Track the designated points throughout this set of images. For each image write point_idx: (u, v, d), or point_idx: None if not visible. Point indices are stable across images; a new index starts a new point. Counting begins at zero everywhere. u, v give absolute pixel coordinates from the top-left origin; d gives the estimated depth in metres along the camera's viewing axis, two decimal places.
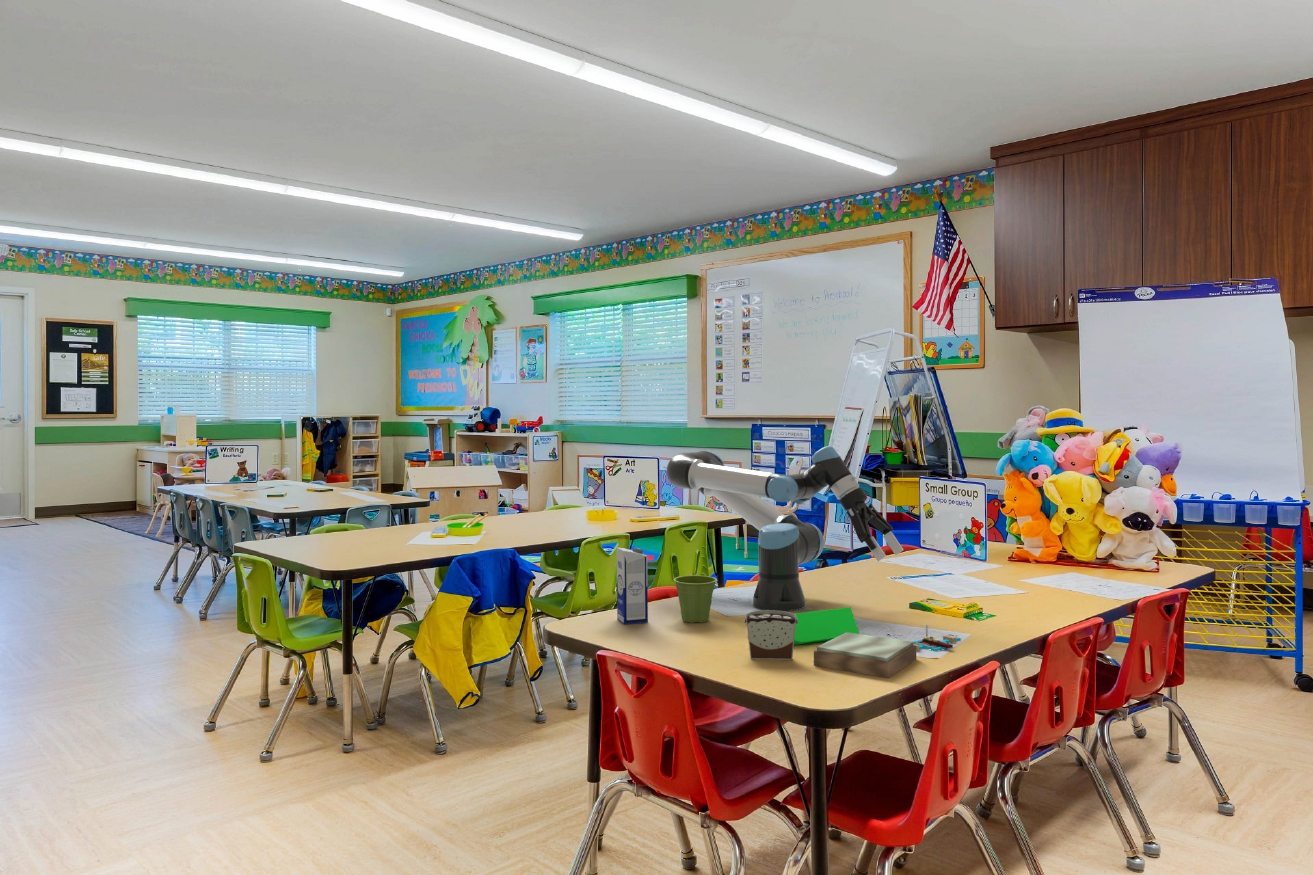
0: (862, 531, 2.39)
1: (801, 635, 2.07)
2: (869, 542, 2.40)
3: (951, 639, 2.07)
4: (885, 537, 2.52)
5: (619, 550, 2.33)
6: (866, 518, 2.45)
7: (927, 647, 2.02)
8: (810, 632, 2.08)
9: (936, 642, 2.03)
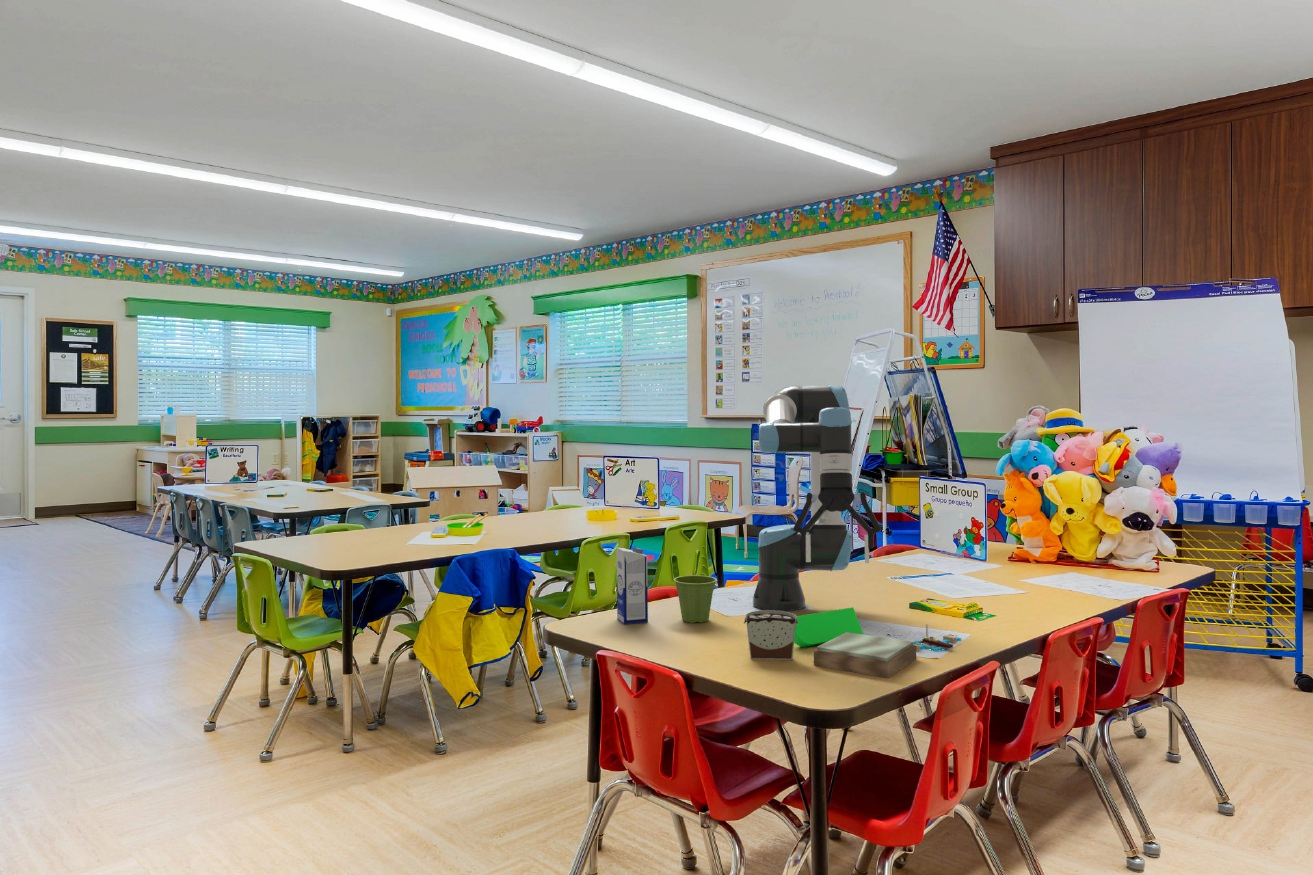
0: (795, 524, 2.05)
1: (810, 637, 2.05)
2: None
3: (951, 639, 2.07)
4: None
5: (619, 550, 2.33)
6: (820, 511, 2.03)
7: (927, 647, 2.02)
8: (817, 634, 2.06)
9: (936, 642, 2.03)
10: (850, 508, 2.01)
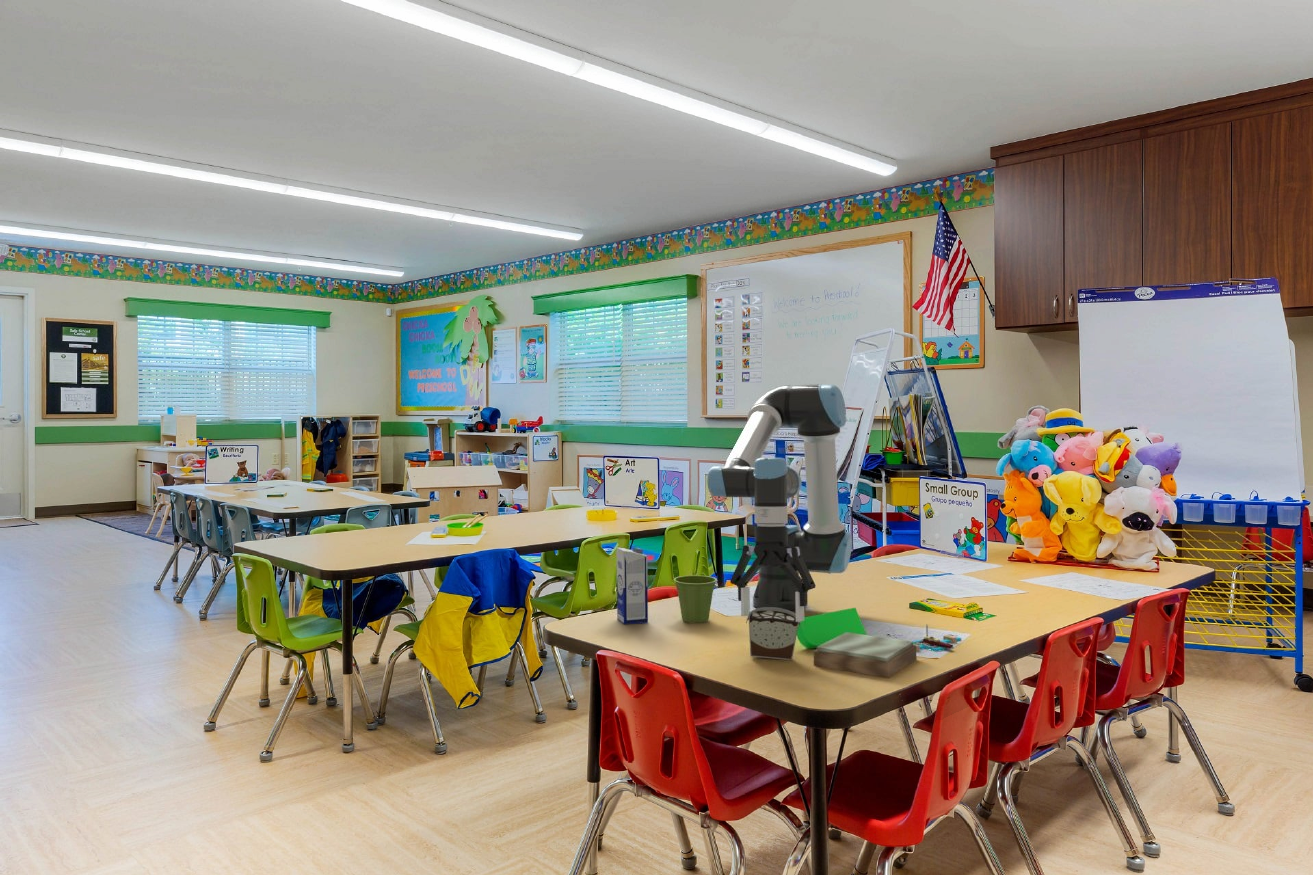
0: None
1: (817, 638, 2.03)
2: None
3: (951, 639, 2.07)
4: None
5: (619, 550, 2.33)
6: (754, 565, 1.97)
7: (927, 647, 2.02)
8: (823, 635, 2.05)
9: (936, 642, 2.03)
10: (781, 564, 1.92)
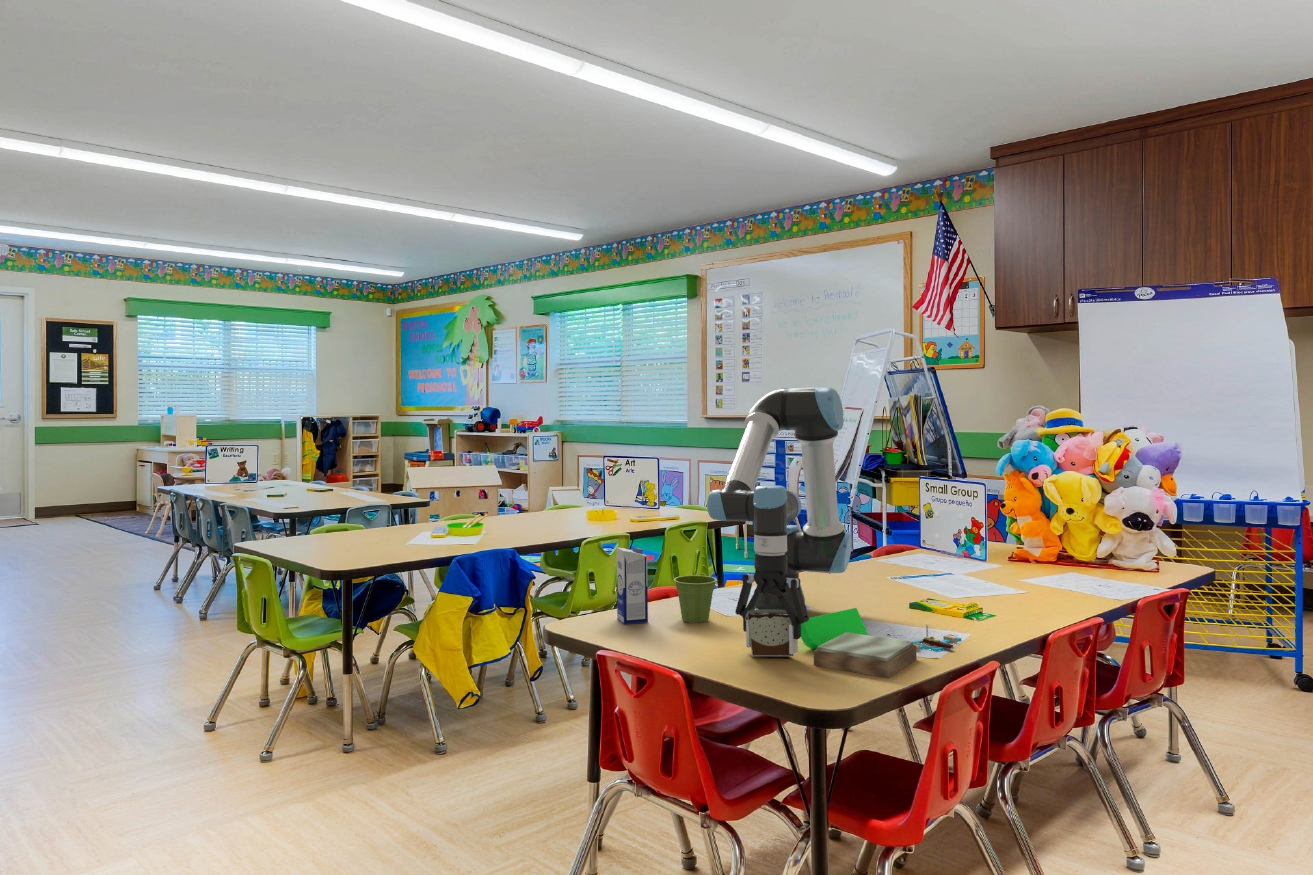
0: None
1: (821, 639, 2.03)
2: None
3: (952, 639, 2.07)
4: None
5: (619, 550, 2.33)
6: (756, 594, 1.98)
7: (927, 647, 2.02)
8: (827, 635, 2.04)
9: (936, 642, 2.03)
10: (779, 594, 1.94)
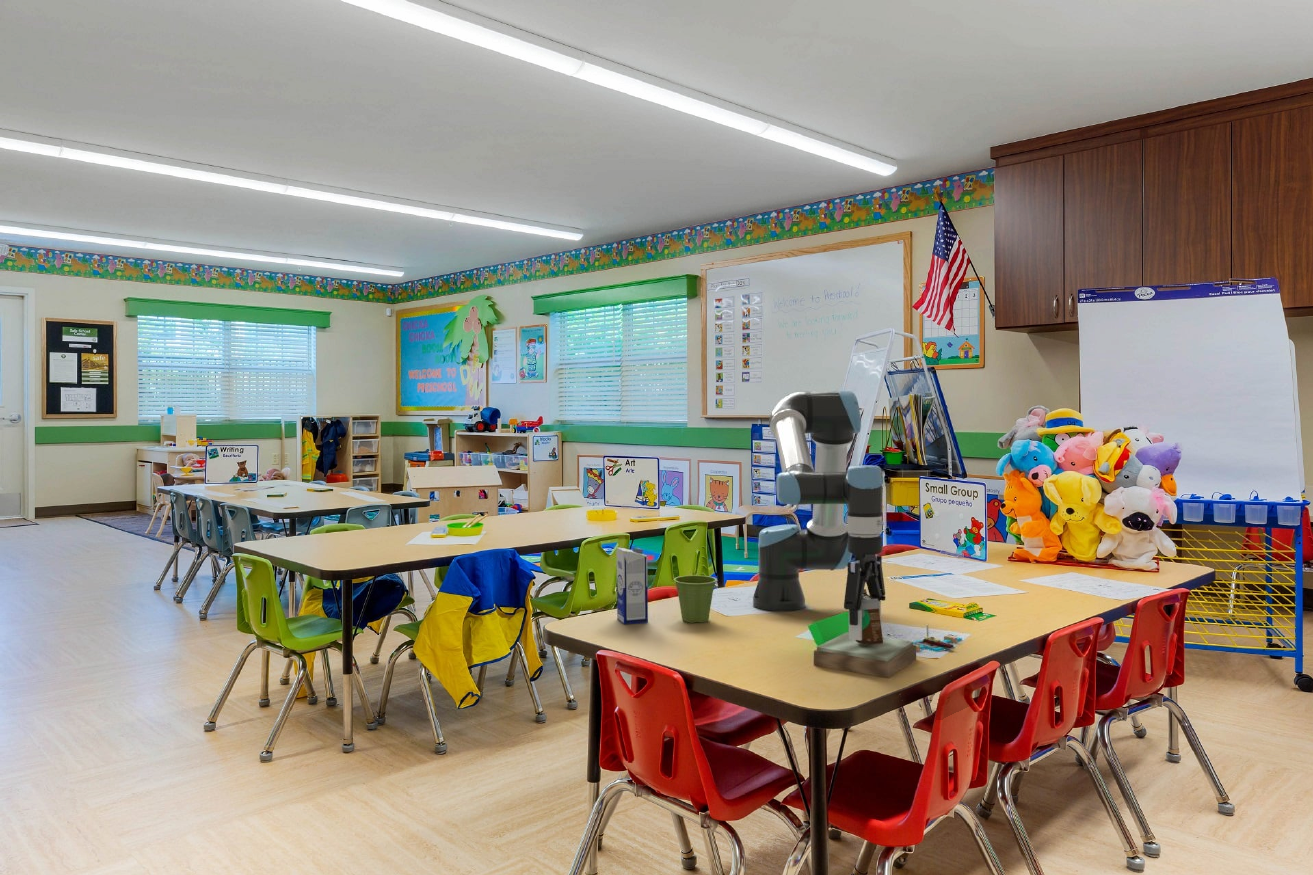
0: (853, 601, 1.84)
1: None
2: (853, 615, 1.85)
3: (952, 639, 2.07)
4: None
5: (619, 550, 2.33)
6: (866, 580, 1.88)
7: (928, 647, 2.02)
8: None
9: (937, 642, 2.03)
10: (877, 573, 1.92)
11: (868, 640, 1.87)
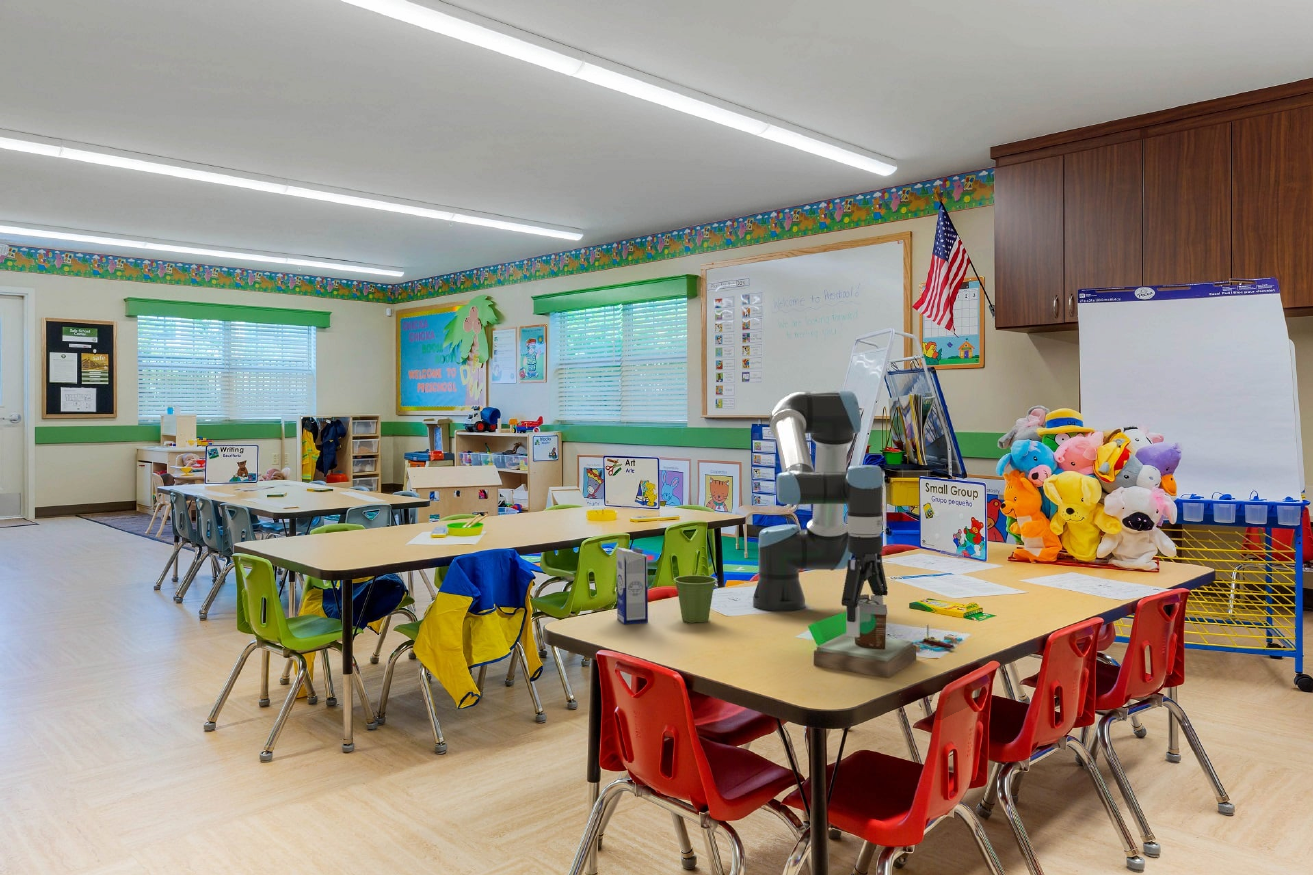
0: (851, 598, 1.83)
1: None
2: (850, 612, 1.84)
3: (952, 639, 2.07)
4: (872, 598, 1.97)
5: (619, 550, 2.33)
6: (865, 579, 1.87)
7: (928, 647, 2.02)
8: None
9: (937, 642, 2.03)
10: (878, 571, 1.93)
11: (870, 645, 1.87)
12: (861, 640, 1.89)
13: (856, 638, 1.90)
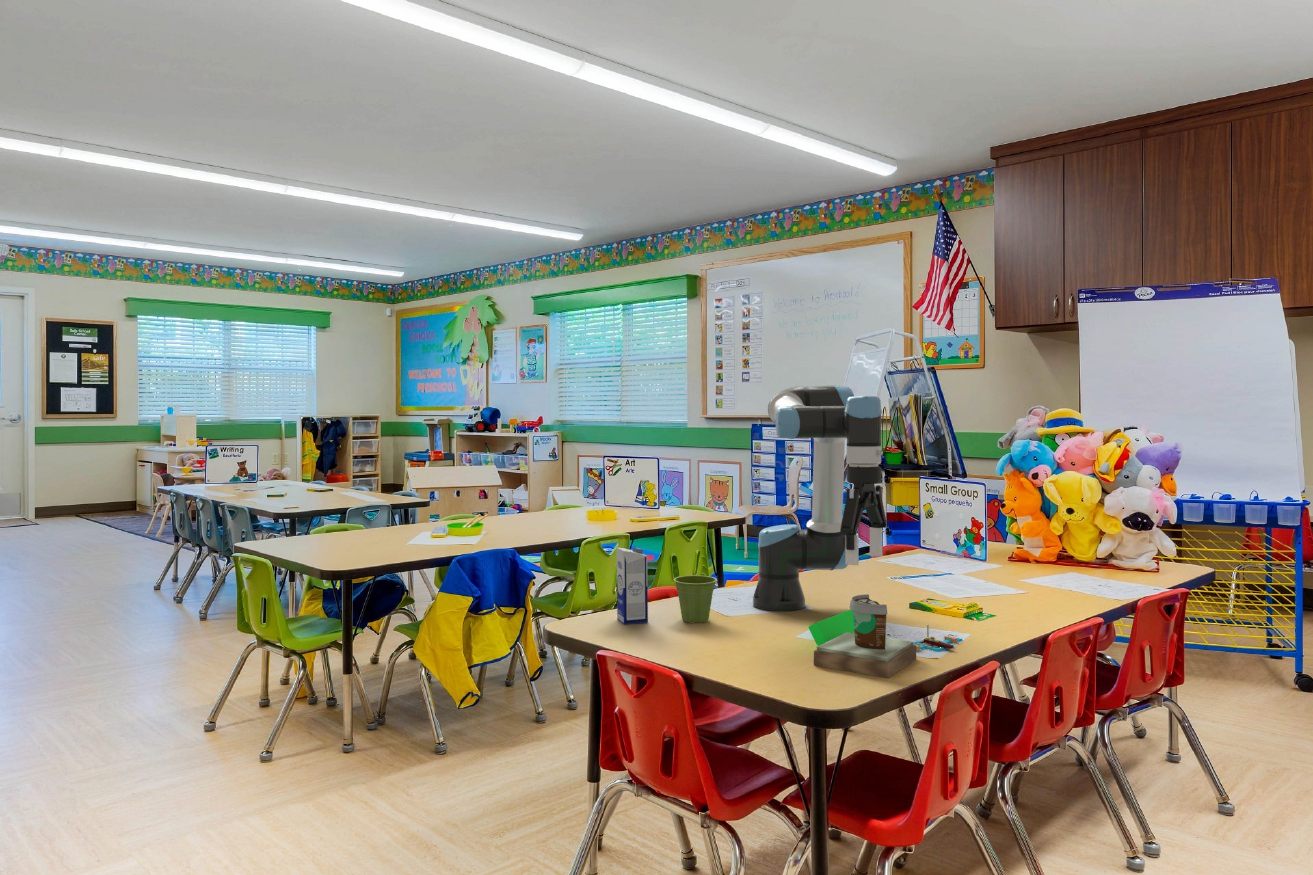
0: (850, 525, 1.83)
1: None
2: (849, 540, 1.85)
3: (952, 640, 2.07)
4: (871, 530, 1.97)
5: (619, 550, 2.33)
6: (864, 508, 1.88)
7: (928, 647, 2.01)
8: None
9: (937, 642, 2.03)
10: (877, 503, 1.93)
11: (870, 645, 1.87)
12: (861, 640, 1.89)
13: (856, 638, 1.90)
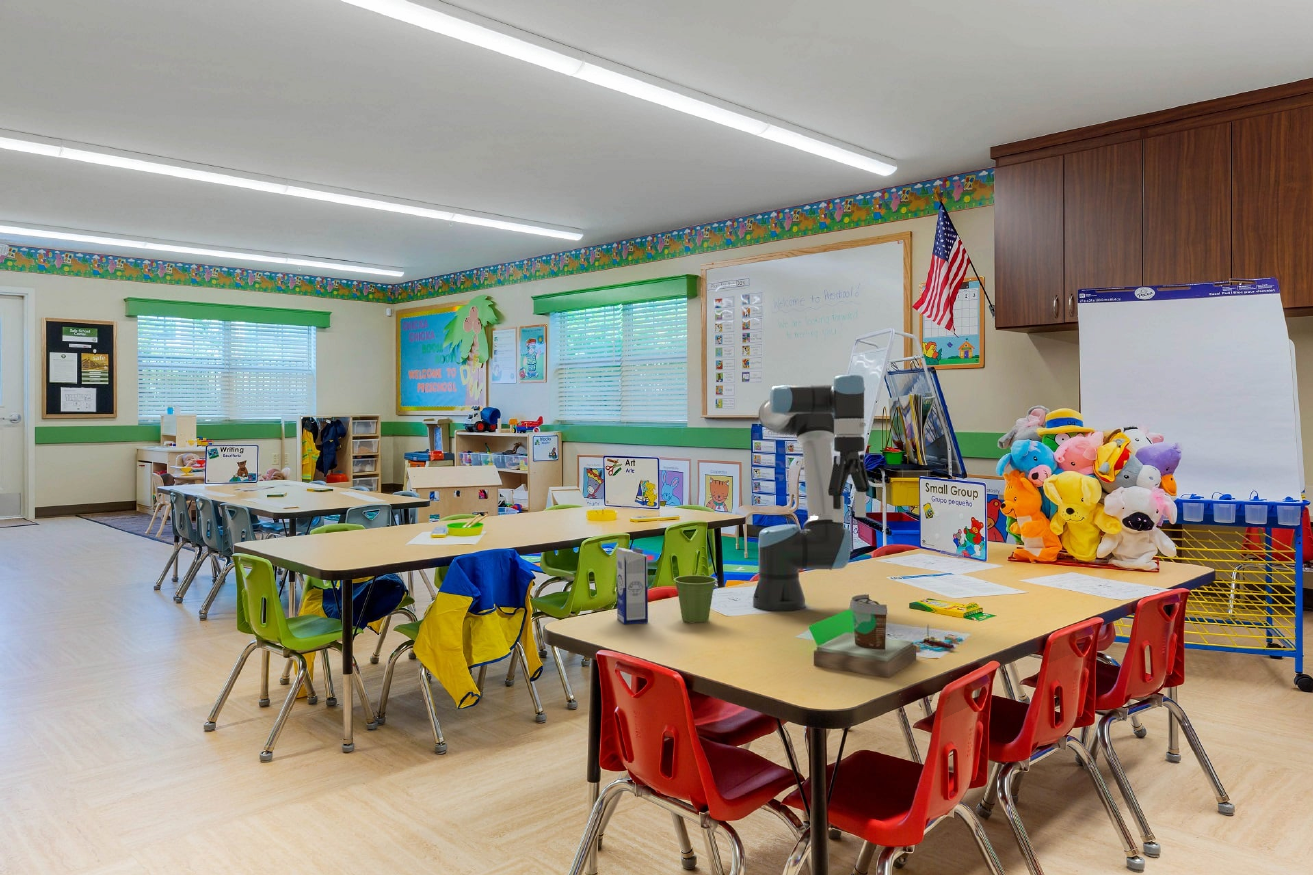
0: (836, 487, 2.10)
1: None
2: (836, 500, 2.11)
3: (953, 639, 2.07)
4: (856, 494, 2.24)
5: (619, 550, 2.33)
6: (849, 473, 2.14)
7: (928, 647, 2.01)
8: None
9: (937, 642, 2.02)
10: (860, 469, 2.20)
11: (870, 645, 1.87)
12: (861, 640, 1.89)
13: (856, 638, 1.90)
